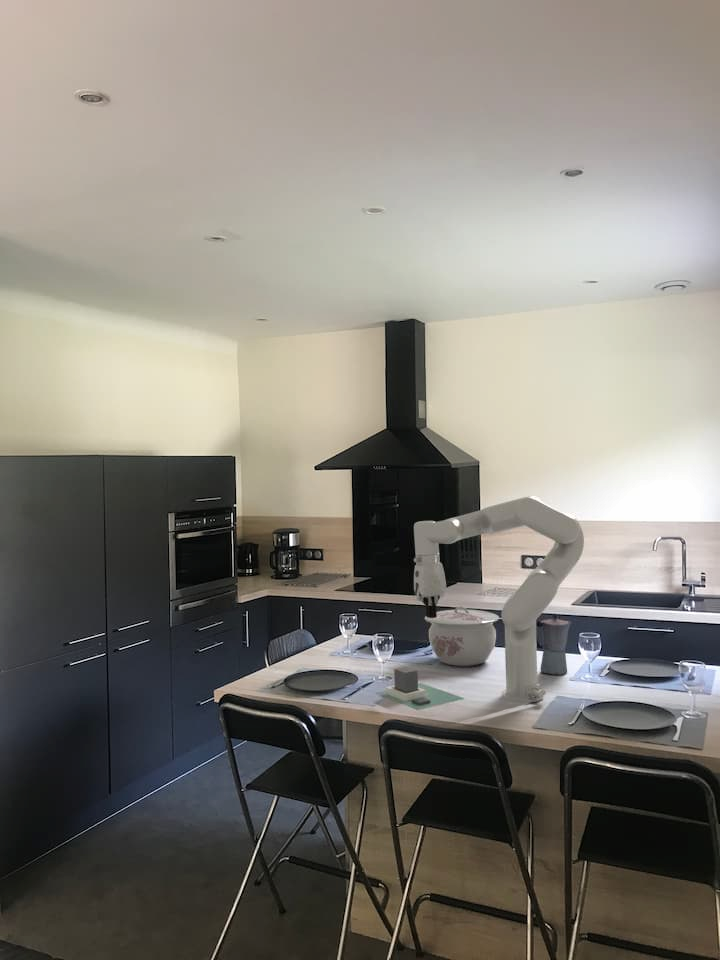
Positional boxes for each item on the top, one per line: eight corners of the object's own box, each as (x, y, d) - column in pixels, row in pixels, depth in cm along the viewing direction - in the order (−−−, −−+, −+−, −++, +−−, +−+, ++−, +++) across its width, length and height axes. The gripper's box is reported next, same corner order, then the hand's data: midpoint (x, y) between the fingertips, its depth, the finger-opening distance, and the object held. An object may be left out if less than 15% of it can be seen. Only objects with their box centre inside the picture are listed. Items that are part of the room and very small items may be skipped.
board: (465, 702, 229) (464, 691, 229) (417, 713, 219) (417, 703, 219) (420, 686, 248) (420, 676, 248) (375, 696, 238) (375, 686, 238)
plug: (418, 696, 233) (417, 670, 233) (406, 699, 230) (405, 672, 230) (405, 691, 238) (404, 666, 238) (393, 694, 236) (392, 668, 236)
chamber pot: (500, 672, 262) (498, 613, 262) (421, 670, 268) (419, 612, 267) (501, 653, 289) (499, 599, 289) (430, 652, 295) (428, 599, 295)
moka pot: (580, 672, 259) (578, 614, 258) (542, 678, 253) (541, 619, 253) (563, 666, 267) (561, 610, 267) (526, 672, 262) (524, 614, 262)
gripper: (417, 563, 233) (421, 622, 233) (453, 557, 241) (456, 615, 241) (402, 562, 239) (405, 619, 239) (437, 556, 248) (441, 612, 247)
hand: (431, 617), depth 240 cm, fingers closed
